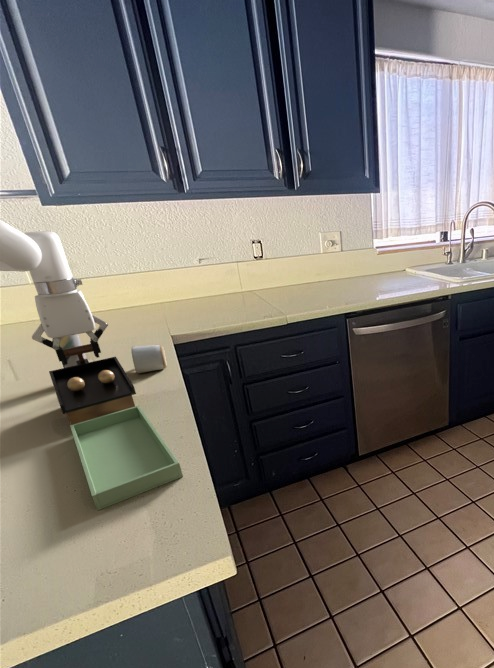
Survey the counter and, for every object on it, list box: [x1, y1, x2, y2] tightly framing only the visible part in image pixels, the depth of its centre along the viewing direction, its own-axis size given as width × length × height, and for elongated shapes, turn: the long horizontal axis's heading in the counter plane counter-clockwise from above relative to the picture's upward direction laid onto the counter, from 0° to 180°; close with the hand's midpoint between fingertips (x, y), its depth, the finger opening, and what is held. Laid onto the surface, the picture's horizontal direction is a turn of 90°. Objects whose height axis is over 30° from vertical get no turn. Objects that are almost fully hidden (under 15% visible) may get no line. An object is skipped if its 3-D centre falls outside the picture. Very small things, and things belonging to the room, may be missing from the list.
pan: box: [48, 343, 137, 414], centre depth 100 cm, size 14×23×5 cm, turn 40°
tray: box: [69, 405, 184, 511], centre depth 82 cm, size 13×31×3 cm, turn 40°
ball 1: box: [67, 377, 85, 391], centre depth 96 cm, size 3×3×3 cm
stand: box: [66, 395, 136, 425], centre depth 103 cm, size 13×14×4 cm
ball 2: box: [98, 370, 114, 384], centre depth 100 cm, size 3×3×3 cm
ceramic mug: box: [131, 344, 168, 374], centre depth 125 cm, size 11×8×8 cm
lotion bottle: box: [60, 334, 87, 368], centre depth 116 cm, size 6×6×20 cm
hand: (81, 359), depth 107 cm, fingers closed on pan, 6 cm apart
